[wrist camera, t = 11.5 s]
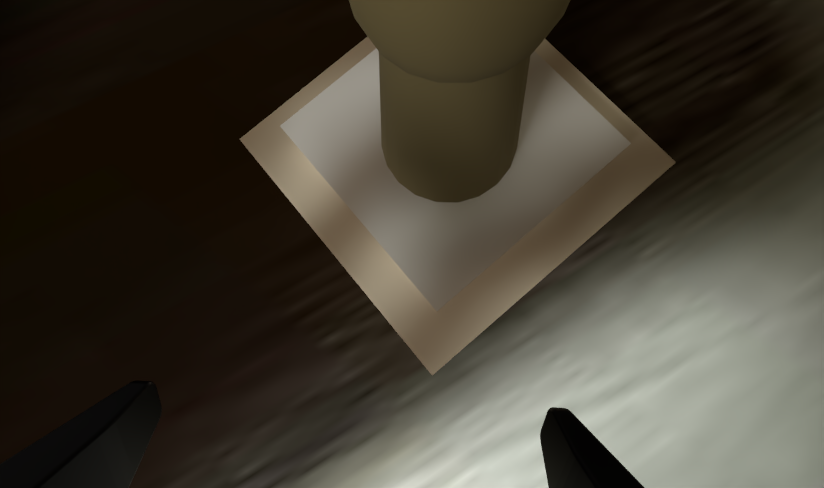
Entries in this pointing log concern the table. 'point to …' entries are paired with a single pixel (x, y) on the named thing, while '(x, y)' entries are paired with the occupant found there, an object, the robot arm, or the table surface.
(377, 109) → the stepped square base
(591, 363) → the table surface
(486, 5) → the brown ball-topped peg
